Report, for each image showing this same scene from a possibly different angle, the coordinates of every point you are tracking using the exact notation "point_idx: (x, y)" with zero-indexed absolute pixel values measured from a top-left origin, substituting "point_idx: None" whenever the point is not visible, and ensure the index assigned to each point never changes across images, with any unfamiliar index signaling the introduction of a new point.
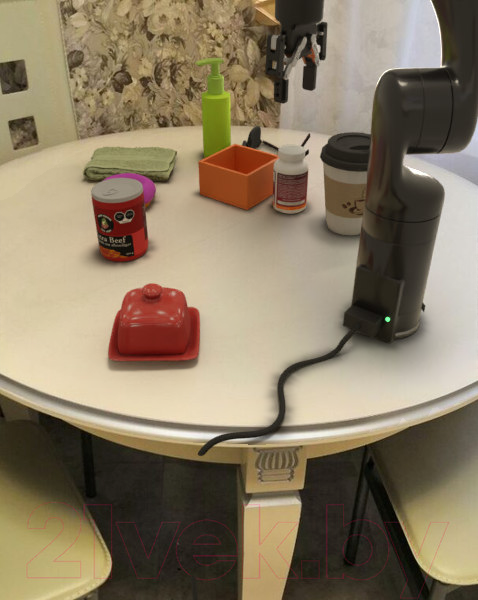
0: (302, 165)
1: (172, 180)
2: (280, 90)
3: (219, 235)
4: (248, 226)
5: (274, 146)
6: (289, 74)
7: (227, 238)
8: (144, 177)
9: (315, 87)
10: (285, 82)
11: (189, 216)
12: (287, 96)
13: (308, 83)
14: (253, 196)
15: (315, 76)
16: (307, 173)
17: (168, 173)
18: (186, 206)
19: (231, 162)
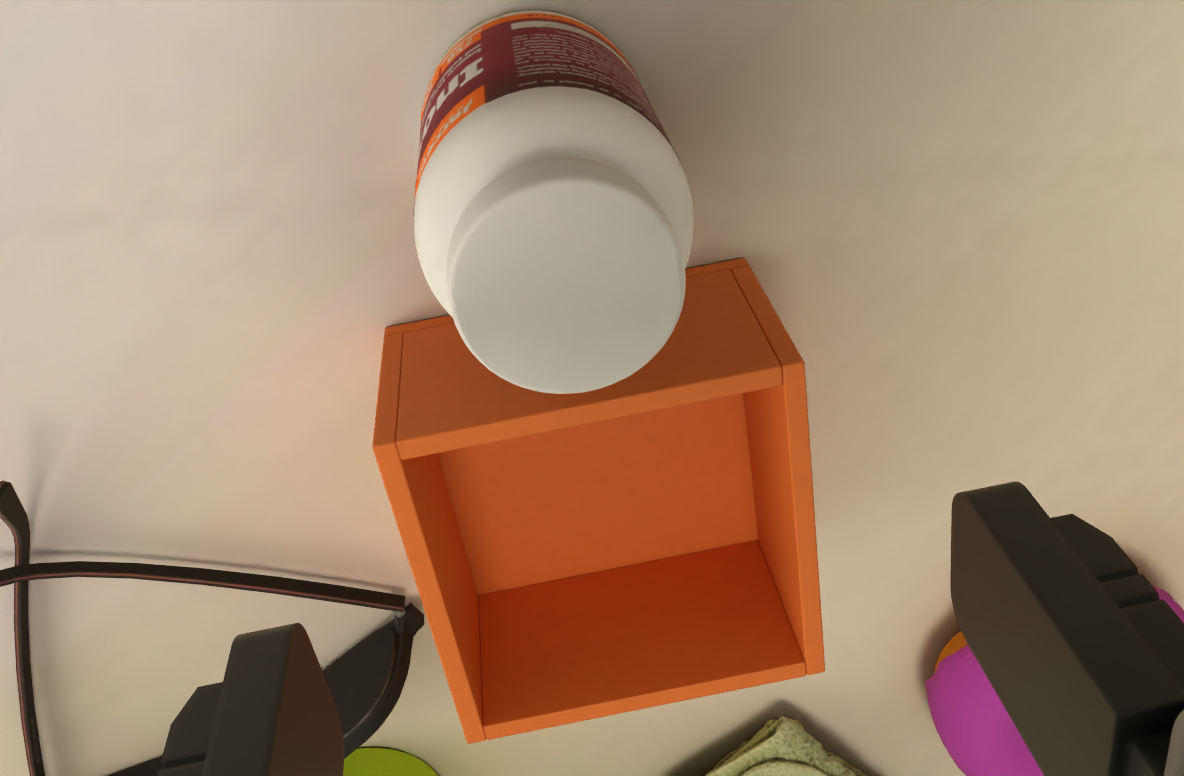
0: (553, 130)
1: (743, 709)
2: (1168, 615)
3: (1076, 140)
4: (895, 107)
5: (29, 726)
6: (1166, 773)
7: (1080, 84)
8: (993, 726)
9: (235, 644)
10: (1169, 680)
11: (993, 394)
12: (1005, 529)
13: (313, 737)
14: (696, 297)
15: (228, 772)
16: (495, 91)
17: (775, 741)
18: (916, 480)
19: (519, 645)
